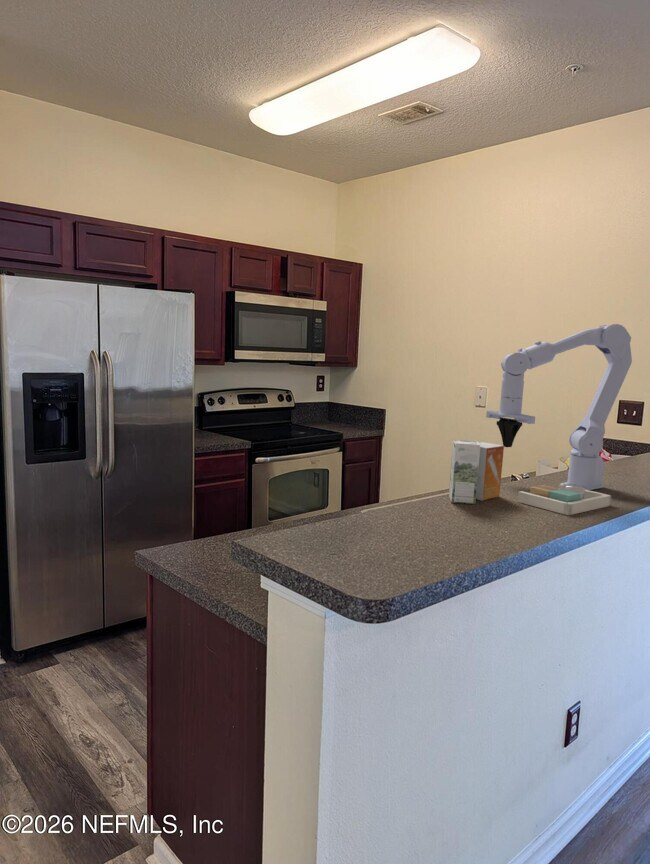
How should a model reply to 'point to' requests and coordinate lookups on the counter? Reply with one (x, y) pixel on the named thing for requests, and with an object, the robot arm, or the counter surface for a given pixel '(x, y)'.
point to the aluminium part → (575, 489)
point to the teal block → (564, 495)
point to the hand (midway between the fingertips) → (507, 446)
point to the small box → (489, 471)
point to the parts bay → (588, 503)
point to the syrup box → (464, 471)
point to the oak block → (542, 490)
